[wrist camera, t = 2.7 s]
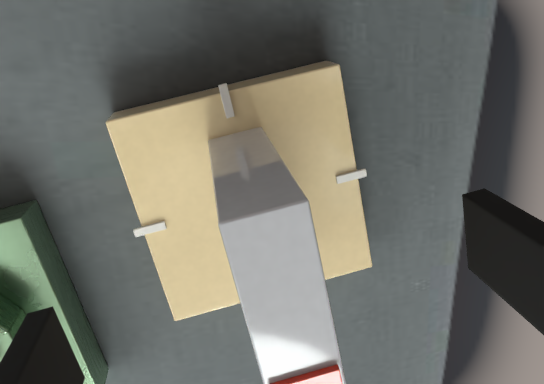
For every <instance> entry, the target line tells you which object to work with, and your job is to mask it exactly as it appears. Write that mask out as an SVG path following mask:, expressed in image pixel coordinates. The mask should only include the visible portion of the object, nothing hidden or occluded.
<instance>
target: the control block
mask: <svg viewBox="0 0 544 384" xmlns="http://www.w3.org/2000/svg"><path fill="white" fill-rule="evenodd" d="M52 306H53V308H54V310H55V312H56V314H57V317H58V319H59V321H60V323H61V326H62V328H63V330H64V332H65V334H66V337H67V339H68V341H69V343H70V346H71V348H72V350H73V352H74V354H75V357H76V359H77V361H78V363H79V366H80V368H81V370H82V372H83V374H84V377H85V379H84V383H83V384H105V382H106V378H107V373H108V367H107V364H106V362H105V360H104V357H103V355H102V353H101V350H100V348H99V346H98V343H97V341H96V339H95V336H94V334H93V332H92V329H91V327H90V325H89V322H88V320H87V317H86V315H85V313H84V310H83V308H82V306H81V303H80V301H79V299H78V296H77V294H76V292H75V289H74V287H73V285H72V282H71V280H70V278H69V275H68V273H67V271H66V268H65V266H64V264H63V261H62V259H61V257H60V254H59V252H58V250H57V247H56V245H55V243H54V240H53V238H52V236H51V233H50V231H49V228H48V226H47V224H46V221H45V219H44V217H43V214H42V212H41V210H40V207H39V205H38V203H37V201H36V200H34V201H30V202H26V203H22V204H18V205H14V206H11V207H7V208H3V209H0V362H1V360H2V358H3V357H4V355H5V353H6V351H7V349H8V348H9V346H10V344H11V342H12V340H13V338H14V337H15V335H16V333H17V331H18V329H19V328H20V326H21V324H22V322H23V320H24V318H25V317H26V315H27V313H31V312H34V311H38V310H41V309H45V308H49V307H52Z"/></svg>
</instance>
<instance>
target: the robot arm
mask: <svg viewBox="0 0 544 384" xmlns="http://www.w3.org/2000/svg"><path fill="white" fill-rule="evenodd" d="M462 197H463V209H464V221H465V233H466V245H467V257H468V268H469V269H470V270H471V271H472V272H473V273H474V274H476V275H477V276H478V277H479V278H480V279H481V280H482V281H483V282H484V283H486V284H487V285H488V286H489V287H490V288H491V289H492V290H494V291H495V292H496V293H497V294H498V295H499V296H500V297H502V299H504V300H505V301H506V302H507V303H508V304H509V305H510V306H512V307H513V308H514V309H515V310H516V311H517V312H518V313H519V314H521V315H522V316H523V317H524V318H525V319H526V320H527V321H528V322H530V323H531V324H532V325H533V326H534V327H535V328H536V329H537V330H539V331H540V332H541V333H542V334H543V335H544V222H543V221H541V220H539V219H537V218H535V217H534V216H532V215H530V214H529V213H527V212H525V211H523V210H521V209H520V208H518V207H516V206H514V205H513V204H511V203H509V202H507V201H506V200H504V199H502V198H500V197H499V196H497V195H495V194H493V193H492V192H490V191H488V190H486V189H481V190H477V191H474V192H470V193H466V194H463V195H462ZM84 379H85V377H84V374H83V372H82V370H81V368H80V366H79V363H78V361H77V359H76V357H75V354H74V352H73V350H72V348H71V346H70V343H69V341H68V339H67V337H66V334H65V332H64V330H63V328H62V326H61V323H60V321H59V319H58V317H57V314H56V312H55V310H54V308H53V306H52V307H49V308H45V309H41V310H38V311H34V312H31V313H27V315H26V317H25V318H24V320H23V322H22V324H21V326H20V328H19V329H18V331H17V333H16V335H15V337H14V338H13V340H12V342H11V344H10V346H9V348H8V349H7V351H6V353H5V355H4V357H3V358H2V360H1V362H0V384H83V383H84Z"/></svg>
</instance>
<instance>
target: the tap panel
mask: <svg viewBox="0 0 544 384" xmlns="http://www.w3.org/2000/svg"><path fill="white" fill-rule="evenodd" d="M106 126H107V129H108V132H109V135H110V137H111V140H112V143H113V146H114V149H115V152H116V155H117V157H118V160H119V163H120V166H121V169H122V172H123V175H124V178H125V180H126V183H127V186H128V189H129V192H130V195H131V198H132V200H133V203H134V206H135V209H136V212H137V215H138V218H139V221H140V223H141V226H142V227H138V228H135V229H133V231H134V234H135V237H138V236H142V235H145V238H146V241H147V243H148V246H149V249H150V252H151V255H152V258H153V261H154V264H155V266H156V269H157V272H158V275H159V278H160V281H161V284H162V286H163V289H164V292H165V295H166V298H167V301H168V304H169V307H170V309H171V312H172V315H173V318H174V320H175V321H178V320H181V319H185V318H188V317H192V316H196V315H199V314H203V313H206V312H210V311H214V310H217V309H221V308H225V307H228V306H232V305H235V304H239V303H240V300H239V296H238V293H237V289H236V286H235V282H234V279H233V275H232V272H231V268H230V265H229V261H228V258H227V254H226V251H225V247H224V244H223V240H222V237H221V233H220V230H219V226H218V220H217V212H216V204H215V196H214V188H213V180H212V173H211V165H210V157H209V149H208V140H210V139H214V138H218V137H222V136H226V135H230V134H234V133H238V132H242V131H246V130H250V129H254V128H258V127H262V128H263V130H264V131H265V133H266V134H267V136H268V138H269V139H270V141H271V142H272V144H273V145H274V147H275V149H276V150H277V152H278V153H279V155H280V156H281V158H282V160H283V161H284V163H285V164H286V166H287V167H288V169H289V171H290V172H291V174H292V175H293V177H294V178H295V180H296V182H297V183H298V185H299V186H300V188H301V189H302V191H303V192H304V194H305V196H306V197H307V199H308V200H309V204H310V209H311V213H312V218H313V223H314V228H315V233H316V238H317V243H318V248H319V252H320V257H321V262H322V267H323V272H324V277H325V280H326V279H330V278H333V277H337V276H340V275H344V274H348V273H351V272H355V271H359V270H362V269H366V268H369V267H372V260H371V254H370V248H369V242H368V236H367V229H366V223H365V217H364V211H363V205H362V199H361V192H360V186H359V180H358V179H359V178H363V177H366V176H367V174H366V169H365V168H364V169H360V170H357V168H356V162H355V155H354V149H353V143H352V137H351V131H350V125H349V118H348V112H347V106H346V100H345V94H344V88H343V81H342V75H341V69H340V65H339V64H336V63H333V62H330V61H322V62H318V63H314V64H310V65H306V66H302V67H298V68H294V69H290V70H286V71H281V72H277V73H273V74H269V75H265V76H261V77H257V78H253V79H249V80H245V81H241V82H236V83H232V84H228V85H227V83H224V84H220V85H218V87H216V88H212V89H208V90H204V91H200V92H196V93H191V94H187V95H183V96H179V97H175V98H171V99H167V100H163V101H159V102H155V103H151V104H147V105H142V106H138V107H134V108H130V109H126V110H122V111H118V112H114V113H112V115H111V116H110V117H109V118H108V119H107V121H106Z"/></svg>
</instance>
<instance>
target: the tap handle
mask: <svg viewBox="0 0 544 384" xmlns="http://www.w3.org/2000/svg"><path fill="white" fill-rule="evenodd" d="M208 149H209V157H210V165H211V173H212V180H213V188H214V196H215V204H216V212H217V220H218V226H219V230H220V233H221V237H222V240H223V244H224V247H225V251H226V254H227V258H228V261H229V265H230V268H231V272H232V275H233V279H234V282H235V286H236V289H237V293H238V296H239V300H240V303H241V307H242V310H243V314H244V317H245V321H246V324H247V328H248V332H249V335H250V339H251V342H252V346H253V349H254V353H255V356H256V360H257V363H258V367H259V370H260V374H261V377H262V381H263V384H346V379H345V374H344V369H343V364H342V360H341V355H340V350H339V345H338V340H337V335H336V330H335V325H334V321H333V316H332V311H331V306H330V301H329V296H328V291H327V287H326V282H325V277H324V272H323V267H322V262H321V257H320V252H319V248H318V243H317V238H316V233H315V228H314V223H313V218H312V213H311V209H310V204H309V200H308V199H307V197H306V196H305V194H304V192H303V191H302V189H301V188H300V186H299V185H298V183H297V182H296V180H295V178H294V177H293V175H292V174H291V172H290V171H289V169H288V167H287V166H286V164H285V163H284V161H283V160H282V158H281V156H280V155H279V153H278V152H277V150H276V149H275V147H274V145H273V144H272V142H271V141H270V139H269V138H268V136H267V134H266V133H265V131H264V130H263V128H262V127H258V128H254V129H250V130H246V131H242V132H238V133H234V134H230V135H226V136H222V137H218V138H214V139H210V140H208Z"/></svg>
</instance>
